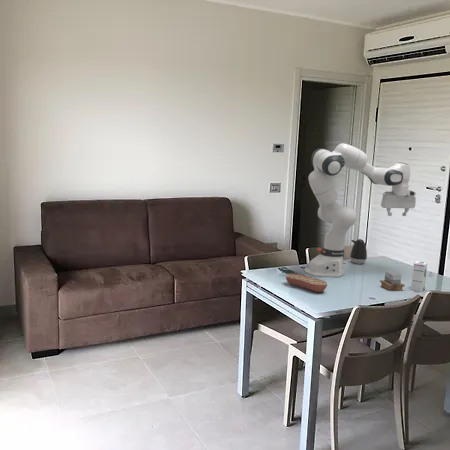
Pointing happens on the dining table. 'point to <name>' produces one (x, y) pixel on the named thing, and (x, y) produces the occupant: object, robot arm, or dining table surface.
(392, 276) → the housing
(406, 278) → the dining table surface
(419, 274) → the syrup box
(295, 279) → the bread loaf
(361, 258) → the black kettle
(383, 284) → the stand
